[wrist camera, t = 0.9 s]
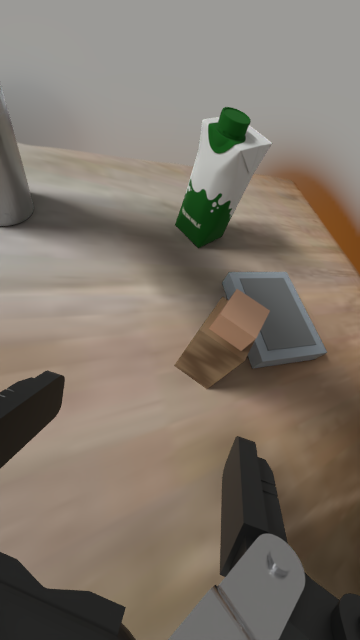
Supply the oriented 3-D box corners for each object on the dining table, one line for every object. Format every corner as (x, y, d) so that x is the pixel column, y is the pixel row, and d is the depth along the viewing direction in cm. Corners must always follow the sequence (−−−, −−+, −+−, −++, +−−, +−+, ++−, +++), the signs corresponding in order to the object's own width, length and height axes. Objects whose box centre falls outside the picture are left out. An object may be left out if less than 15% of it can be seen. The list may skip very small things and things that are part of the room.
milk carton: (168, 223, 49) (201, 98, 32) (199, 211, 54) (243, 95, 37) (198, 253, 47) (249, 136, 30) (228, 238, 52) (287, 128, 35)
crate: (174, 365, 35) (199, 329, 26) (193, 337, 38) (222, 296, 29) (207, 389, 34) (244, 360, 25) (224, 359, 37) (263, 324, 28)
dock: (222, 282, 45) (229, 271, 42) (277, 281, 49) (287, 271, 46) (252, 368, 38) (263, 361, 35) (313, 359, 42) (328, 352, 39)
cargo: (208, 328, 26) (220, 313, 23) (225, 304, 28) (236, 288, 26) (241, 351, 26) (256, 338, 23) (255, 324, 28) (270, 310, 25)
